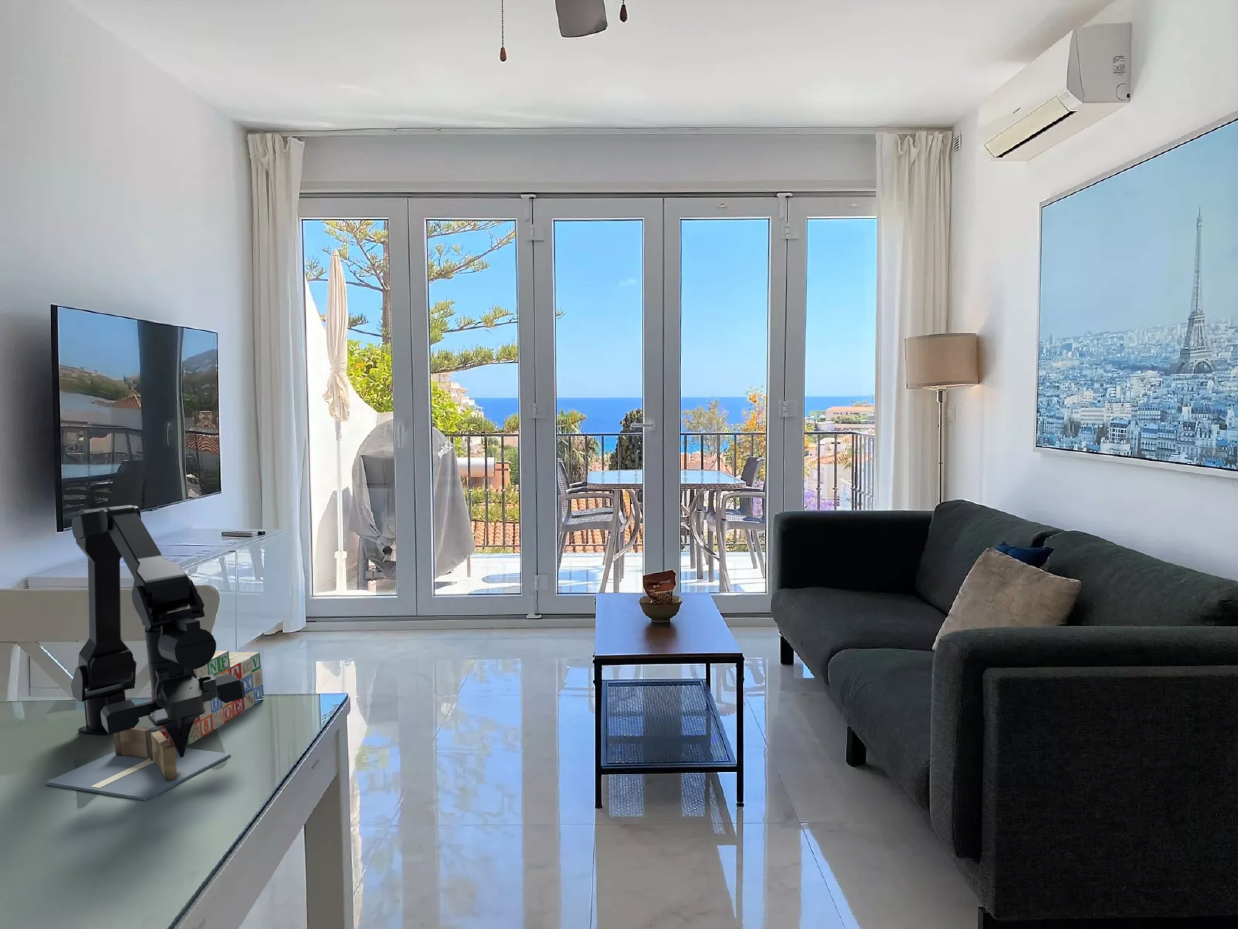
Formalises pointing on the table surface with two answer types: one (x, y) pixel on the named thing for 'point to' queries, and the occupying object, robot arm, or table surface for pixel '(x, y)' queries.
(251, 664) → the stack of blocks
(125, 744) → the fixed fence section
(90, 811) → the table surface
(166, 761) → the folding fence panel
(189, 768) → the board
